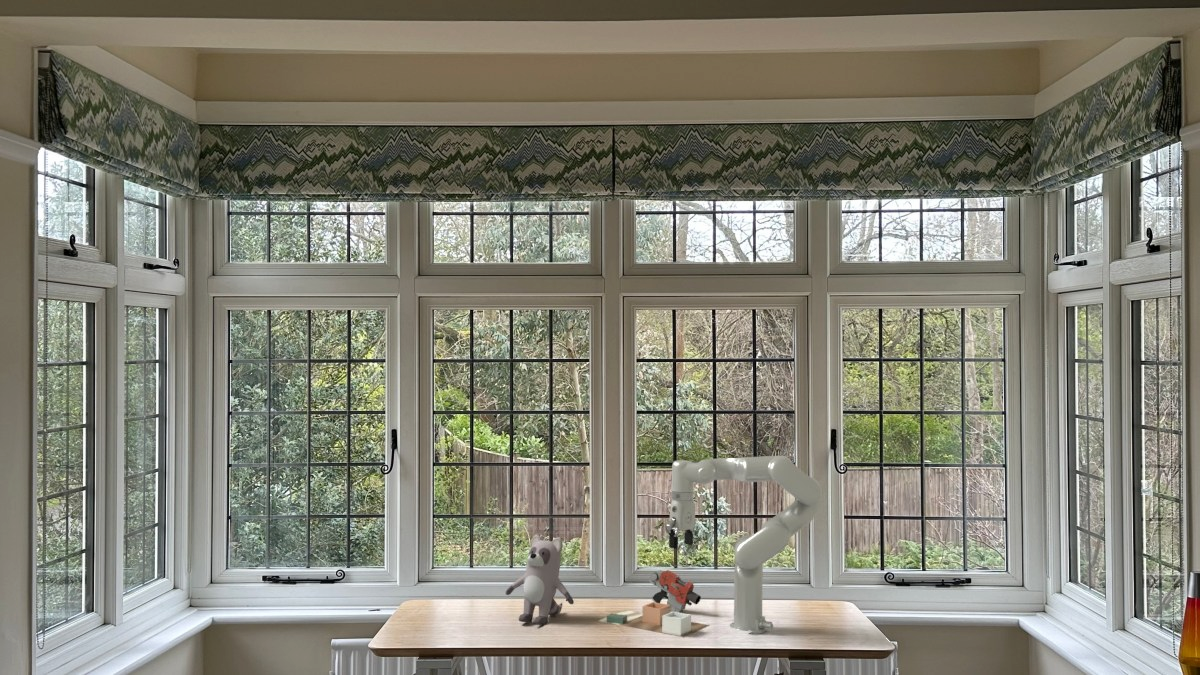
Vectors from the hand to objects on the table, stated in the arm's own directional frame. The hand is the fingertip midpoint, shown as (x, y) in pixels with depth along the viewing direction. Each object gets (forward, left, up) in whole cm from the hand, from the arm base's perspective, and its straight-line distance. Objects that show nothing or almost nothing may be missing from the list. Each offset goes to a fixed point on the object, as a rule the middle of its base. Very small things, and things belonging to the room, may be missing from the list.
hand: (681, 546), depth 328 cm
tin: (+18, +12, -26) cm, 34 cm away
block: (-5, +11, -26) cm, 28 cm away
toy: (+42, +21, -28) cm, 55 cm away
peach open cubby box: (+7, +4, -26) cm, 27 cm away
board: (+7, +6, -27) cm, 29 cm away
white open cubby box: (-5, +11, -26) cm, 29 cm away
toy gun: (+9, -12, -28) cm, 31 cm away
